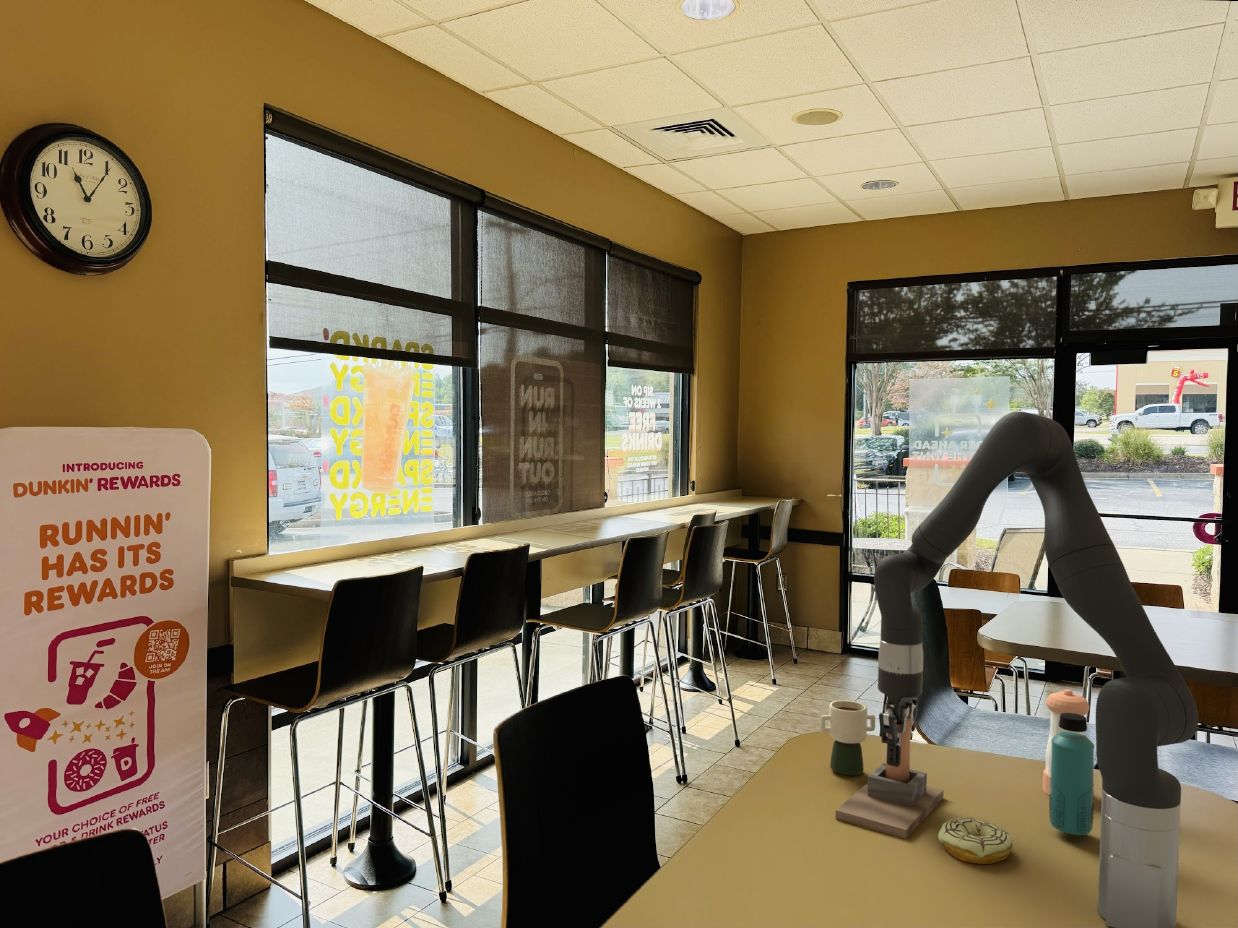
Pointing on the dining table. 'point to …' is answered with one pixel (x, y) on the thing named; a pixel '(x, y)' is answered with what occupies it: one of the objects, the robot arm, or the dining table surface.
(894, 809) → the holder
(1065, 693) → the pepper shaker
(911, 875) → the dining table surface
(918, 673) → the robot arm
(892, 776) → the peg
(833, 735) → the character mug
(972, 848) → the decorated donut
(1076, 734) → the beverage bottle
